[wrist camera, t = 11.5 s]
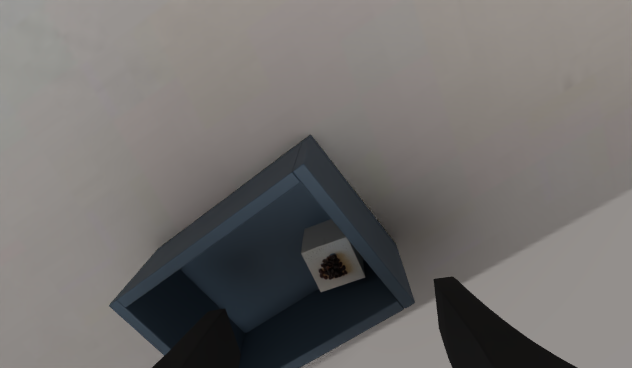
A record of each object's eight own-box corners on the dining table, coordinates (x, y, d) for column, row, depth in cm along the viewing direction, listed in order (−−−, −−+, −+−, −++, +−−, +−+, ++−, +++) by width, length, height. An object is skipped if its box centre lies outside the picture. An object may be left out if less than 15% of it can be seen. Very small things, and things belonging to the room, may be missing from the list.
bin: (310, 134, 17) (303, 163, 12) (396, 244, 18) (416, 303, 14) (157, 248, 19) (107, 306, 15) (246, 337, 21) (224, 410, 17)
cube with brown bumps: (362, 250, 18) (366, 281, 16) (322, 264, 18) (320, 296, 16) (345, 213, 17) (347, 239, 15) (304, 228, 18) (299, 256, 15)
